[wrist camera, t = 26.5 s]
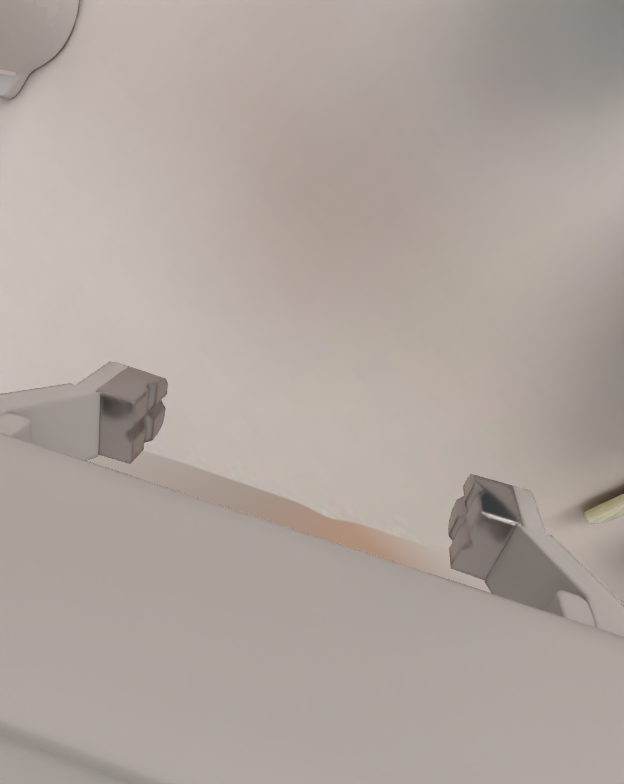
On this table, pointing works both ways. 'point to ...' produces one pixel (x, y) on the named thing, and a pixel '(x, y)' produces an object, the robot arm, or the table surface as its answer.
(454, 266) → the table surface
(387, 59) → the table surface
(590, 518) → the toy juicer set
